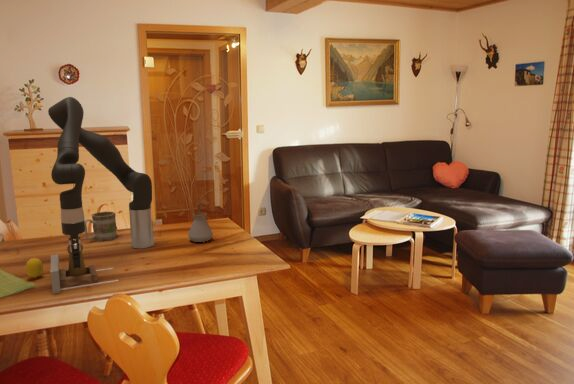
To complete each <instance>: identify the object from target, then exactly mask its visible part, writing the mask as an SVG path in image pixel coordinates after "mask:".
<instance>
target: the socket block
mask: <svg viewBox="0 0 574 384" xmlns="http://www.w3.org/2000/svg"><path fill="white" fill-rule="evenodd" d="M85 268H86V273H85V274H83V275H80V276H69V275H68V269H69V267H68V268H61V269H60V270H59V273H60V289H61V288H68V287H74V286H80V285H87V284H93V283H99V281H98V273H97V272H96V270H97V269H96V266H95V264H90V265H85Z"/></svg>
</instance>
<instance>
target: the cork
mask: <svg viewBox="0 0 574 384" xmlns="http://www.w3.org/2000/svg"><path fill="white" fill-rule="evenodd" d="M80 245H81V251H80V256H81V257H80V266H81V267H80V268H78V267H76V268H75V269H74V264H73V258H72V252H70V244H68V246H67V248H66V250H67V253H68V268H69V269H68V275H69V276H80V275H83V274H85V273H86V268H85V266H86V265H85V260H84V256H83V251H84V246H83V244H82V243H80ZM74 255H78V253H74Z"/></svg>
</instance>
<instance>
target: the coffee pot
mask: <svg viewBox="0 0 574 384" xmlns="http://www.w3.org/2000/svg"><path fill="white" fill-rule="evenodd" d="M207 215H208V213H207V212H203V211H202V212H201V203H199V202H198V203H197V212H194V213H192V216H193V217H194V218H193V221H192V224H191V226H190V228H189V231H188V234H187V237H188V239H189V240H190V241H191V242H193V241H194V242H193V243H195V242H203V243H205V242H204V241H207V242H209V241H210V240H211V239H212V238H213V235H214V233H213V231H212V229H211V227H210V225H209V222H208V221H207V218H206V217H207ZM208 240H209V241H208Z"/></svg>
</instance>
